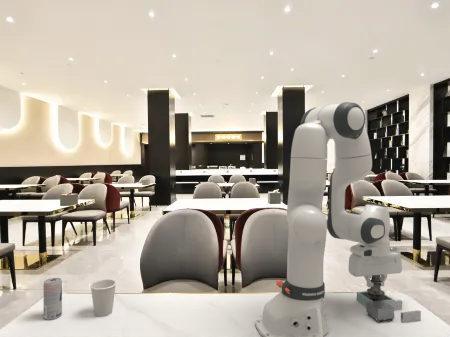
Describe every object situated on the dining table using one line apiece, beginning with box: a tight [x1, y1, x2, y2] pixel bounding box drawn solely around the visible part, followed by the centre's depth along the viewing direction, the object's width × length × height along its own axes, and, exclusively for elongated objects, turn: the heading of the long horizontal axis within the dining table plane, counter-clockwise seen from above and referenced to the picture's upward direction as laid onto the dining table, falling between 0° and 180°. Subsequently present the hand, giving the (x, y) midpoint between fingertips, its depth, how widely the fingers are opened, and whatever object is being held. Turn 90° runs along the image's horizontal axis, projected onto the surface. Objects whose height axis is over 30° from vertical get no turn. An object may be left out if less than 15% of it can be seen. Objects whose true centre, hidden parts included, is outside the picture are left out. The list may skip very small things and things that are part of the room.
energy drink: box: [42, 277, 63, 321], centre depth 104 cm, size 5×5×12 cm
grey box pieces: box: [366, 299, 422, 324], centre depth 105 cm, size 15×9×4 cm, turn 103°
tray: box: [356, 290, 396, 308], centre depth 114 cm, size 9×9×3 cm
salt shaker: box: [366, 275, 386, 301], centre depth 113 cm, size 6×6×12 cm
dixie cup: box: [89, 279, 117, 318], centre depth 106 cm, size 8×8×10 cm
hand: (375, 286), depth 114 cm, fingers closed on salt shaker, 3 cm apart
